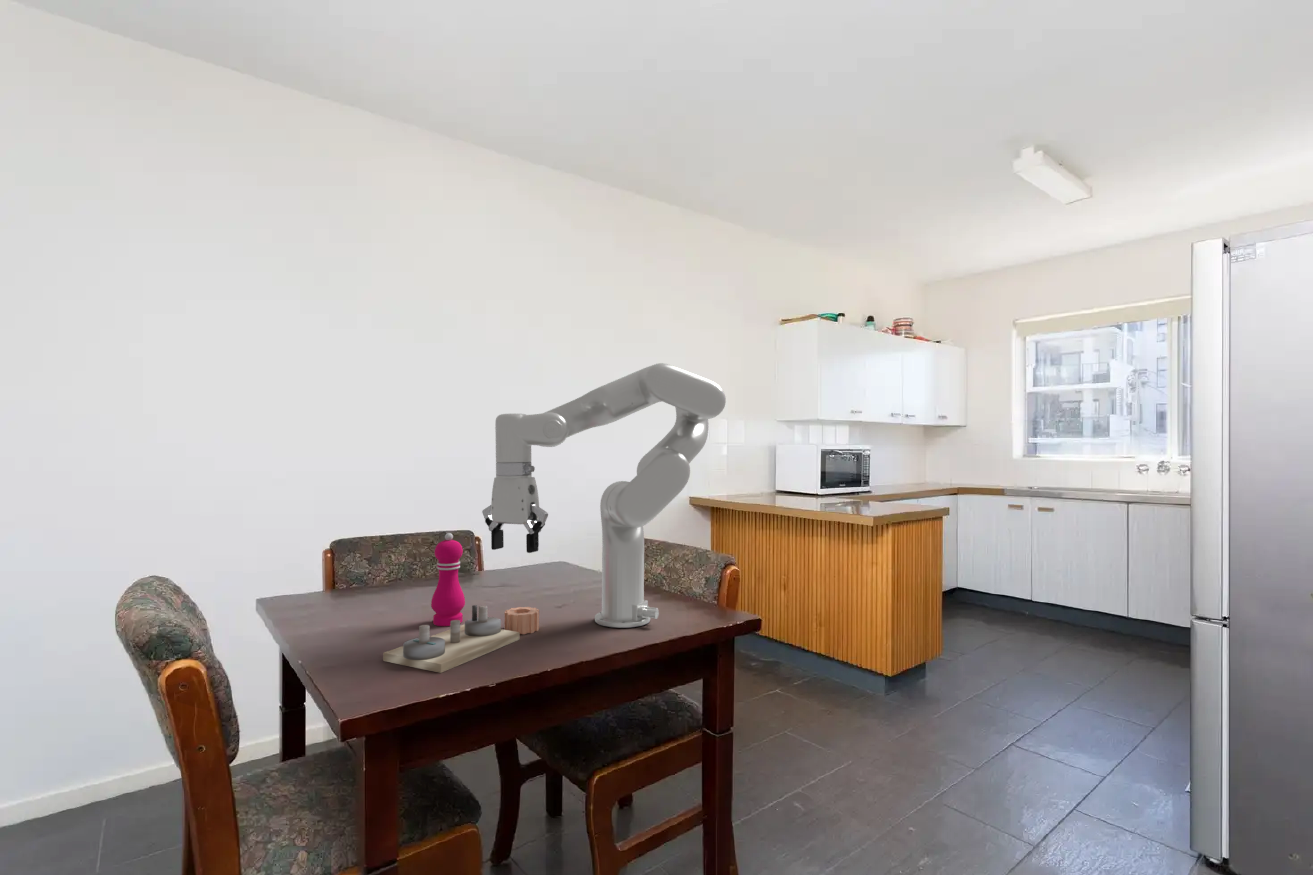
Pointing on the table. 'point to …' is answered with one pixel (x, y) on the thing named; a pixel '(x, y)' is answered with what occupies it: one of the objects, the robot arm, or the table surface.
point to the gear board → (453, 643)
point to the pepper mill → (448, 583)
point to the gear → (521, 620)
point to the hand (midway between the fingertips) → (514, 550)
